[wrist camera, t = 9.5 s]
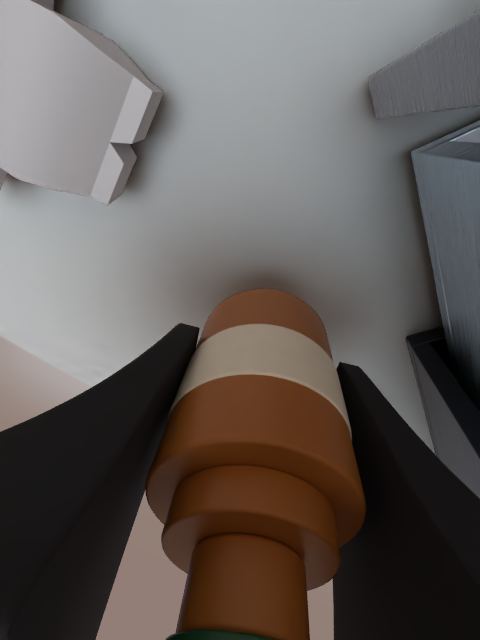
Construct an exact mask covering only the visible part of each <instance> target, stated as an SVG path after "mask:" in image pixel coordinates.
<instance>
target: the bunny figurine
mask: <svg viewBox="0 0 480 640" xmlns="http://www.w3.org/2000/svg"><path fill="white" fill-rule="evenodd" d="M53 7H54V0H0V189H1V186H2V184H3V182H4V179H5V177H6V175H7V173H9V174H11V175H12V176H13V177H15V178H16V179H18V180H22V181H25V182H28V183H32V184H35V185H38V186H42V187H45V188H48V189H52V190H56V191H62V192H68V193H73V194H79V195H84V196H90V197H92V198H94V199H96V200H97V201H99V202H101V203H103V204H105V205H107V206H108V205H109V204H110V203H111V202H113V201H114V200H115V199H117V198H118V197H119V196H121V195H122V192H123V190H124V187H125V185H126V182H127V180H128V178H129V175H130V173H131V170H132V168H133V166H134V163H135V161H136V158H137V156H136V155H135V153H134V151H133V150H132V148H131V147H130V145H129V144H133V143H135V142H138V141H141V140H144V139H145V137H146V134H147V132H148V130H149V127H150V125H151V122H152V120H153V118H154V115H155V113H156V110H157V108H158V106H159V103H160V101H161V98H162V96H163V94H164V93H163V92H162V91H161V90H160V89H159V88H157V87H156V86H155V85H154V84H152V83H151V82H150V81H149V80H147V78H146V77H145V76H144V75H143V73H142V72H141V71H140V70H139V69H138V67H137V66H136V65H135V64H134V62H133V61H132V60H131V59H130V58H129V57H128V56H127V55H126V54H125V53H124V52H123V51H122V50H121V49H120V48H119V47H118V46H117V45H116V44H115V43H114V42H113V41H112V40H111V39H109V38H107V37H105V36H103V35H101V34H99V33H97V32H95V31H93V30H91V29H90V28H88V27H86V26H84V25H81V24H79V23H77V22H75V21H73V20H71V19H69V18H67V17H65V16H63V15H61V14H59V13H57V12H54V11H53Z"/></svg>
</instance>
